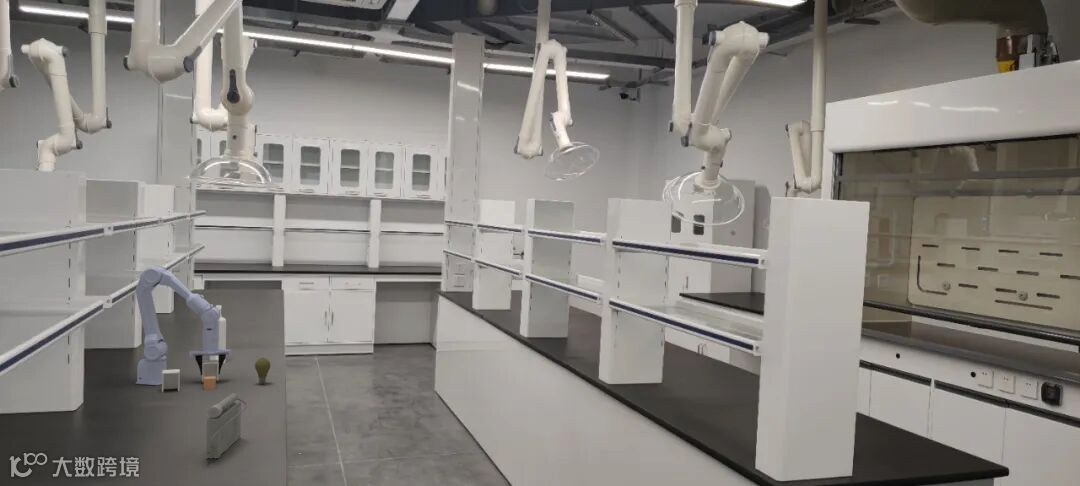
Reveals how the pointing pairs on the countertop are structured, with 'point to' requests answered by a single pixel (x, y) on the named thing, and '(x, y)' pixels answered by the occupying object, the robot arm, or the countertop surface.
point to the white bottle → (221, 334)
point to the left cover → (171, 379)
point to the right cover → (210, 368)
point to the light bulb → (262, 369)
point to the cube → (210, 382)
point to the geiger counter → (223, 425)
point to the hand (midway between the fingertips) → (210, 374)
